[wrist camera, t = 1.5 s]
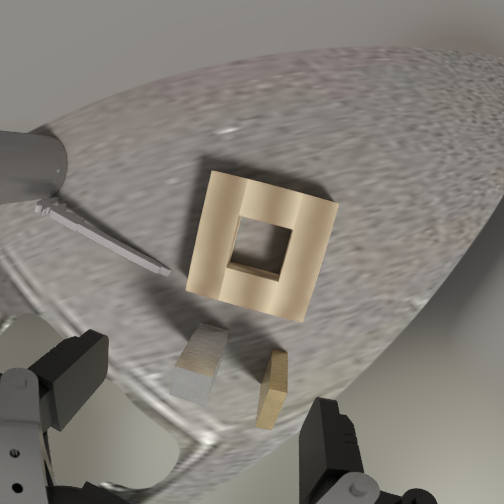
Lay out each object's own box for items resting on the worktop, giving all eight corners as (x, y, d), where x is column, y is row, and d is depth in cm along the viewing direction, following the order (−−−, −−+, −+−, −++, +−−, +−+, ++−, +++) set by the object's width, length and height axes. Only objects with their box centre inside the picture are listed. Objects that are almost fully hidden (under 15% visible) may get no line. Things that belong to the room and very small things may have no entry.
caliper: (56, 203, 40) (27, 207, 34) (58, 196, 40) (30, 200, 34) (169, 276, 41) (150, 292, 35) (172, 269, 40) (153, 284, 34)
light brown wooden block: (261, 384, 42) (255, 426, 34) (272, 349, 41) (269, 388, 32) (274, 387, 42) (271, 430, 34) (287, 352, 41) (287, 393, 32)
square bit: (194, 347, 42) (169, 394, 32) (200, 322, 41) (174, 365, 31) (223, 355, 42) (205, 405, 31) (229, 330, 41) (212, 377, 30)
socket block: (192, 282, 40) (185, 290, 37) (217, 171, 37) (211, 170, 34) (301, 312, 40) (302, 322, 37) (334, 202, 36) (339, 203, 34)
